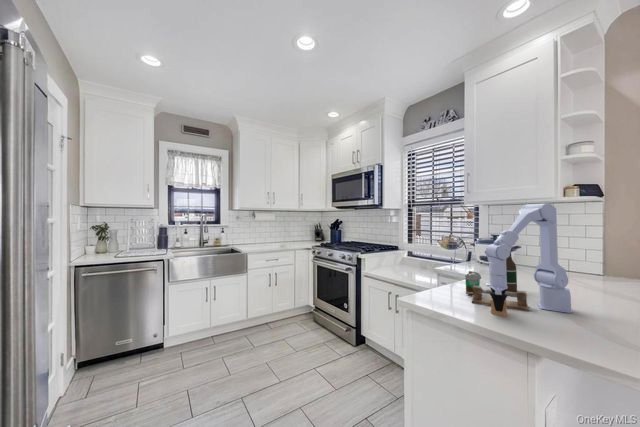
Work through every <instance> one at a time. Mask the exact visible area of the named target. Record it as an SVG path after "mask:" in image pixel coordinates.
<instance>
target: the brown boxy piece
mask: <svg viewBox="0 0 640 427" xmlns="http://www.w3.org/2000/svg"><path fill="white" fill-rule="evenodd" d="M490 292H492V290H491V289H489V288H482V286H480V285H479V286H473V296H472V299H471V303H472V302H473V303H472V304H477V303H480V304H479V305H483V304H485V305H484V306H486V305H487V306H490V307H491V297H485V296H482V294H486V295H487V294H488V295H490ZM505 294H506V295H507V297H511V298H516V301H514V300H508V299H506V303H507V309H511V310H518V311H519V310H520V311H523V312H524V311H525V312H529V311H530V307H529V305H528V301H527V299H528V298H527V291H523V290H517V292H508V291H506V292H505Z"/></svg>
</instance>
